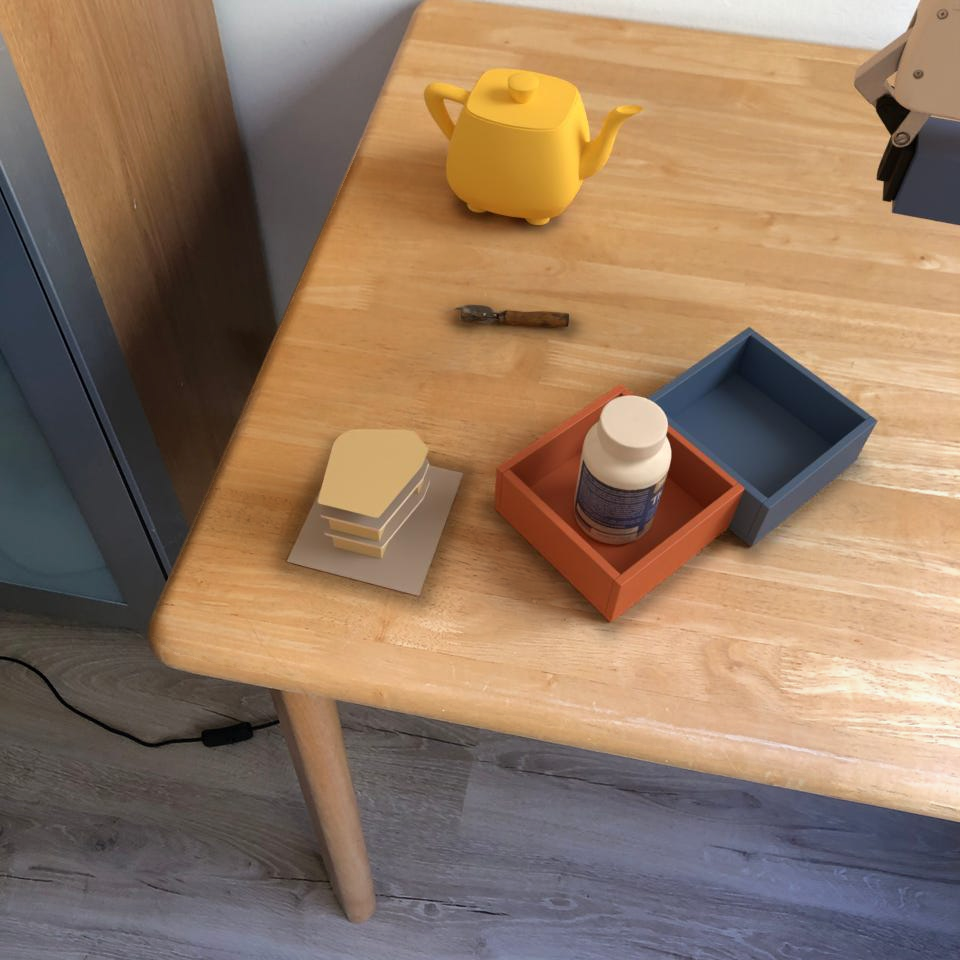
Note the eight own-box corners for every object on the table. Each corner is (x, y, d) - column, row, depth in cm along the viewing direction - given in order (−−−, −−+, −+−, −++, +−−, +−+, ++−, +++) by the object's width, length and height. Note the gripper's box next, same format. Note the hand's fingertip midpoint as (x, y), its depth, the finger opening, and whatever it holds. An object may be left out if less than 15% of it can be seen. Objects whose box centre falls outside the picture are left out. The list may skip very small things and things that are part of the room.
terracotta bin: (729, 526, 64) (746, 487, 61) (610, 623, 60) (620, 586, 56) (611, 425, 69) (620, 383, 66) (493, 507, 65) (495, 467, 61)
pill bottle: (656, 548, 63) (685, 458, 55) (574, 546, 63) (590, 456, 55) (649, 481, 66) (675, 386, 58) (570, 479, 66) (586, 384, 58)
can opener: (569, 320, 75) (571, 310, 74) (565, 342, 74) (567, 331, 73) (456, 304, 76) (455, 294, 75) (450, 325, 75) (449, 315, 74)
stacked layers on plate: (419, 596, 61) (415, 550, 57) (286, 561, 62) (273, 514, 58) (463, 473, 67) (463, 423, 62) (341, 444, 68) (333, 393, 63)
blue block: (962, 226, 63) (993, 167, 59) (891, 213, 64) (917, 154, 60) (961, 185, 65) (990, 126, 62) (893, 173, 66) (918, 114, 62)
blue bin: (855, 461, 68) (878, 420, 64) (751, 548, 64) (769, 509, 60) (734, 369, 73) (749, 326, 69) (629, 444, 68) (639, 402, 65)
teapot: (638, 177, 86) (658, 64, 77) (610, 256, 80) (629, 144, 71) (446, 137, 89) (445, 25, 80) (405, 211, 83) (399, 98, 74)
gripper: (896, -91, 49) (794, 207, 63) (1258, -40, 46) (1065, 257, 61) (899, -149, 53) (804, 142, 68) (1231, -106, 51) (1057, 187, 65)
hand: (929, 194), depth 64 cm, fingers closed on blue block, 4 cm apart
